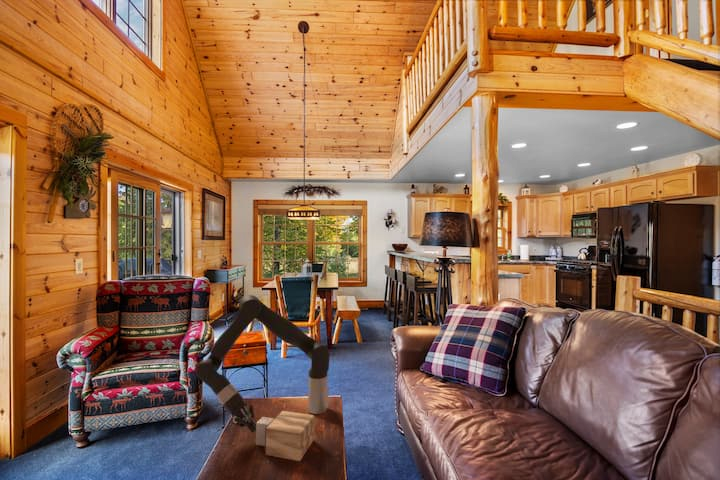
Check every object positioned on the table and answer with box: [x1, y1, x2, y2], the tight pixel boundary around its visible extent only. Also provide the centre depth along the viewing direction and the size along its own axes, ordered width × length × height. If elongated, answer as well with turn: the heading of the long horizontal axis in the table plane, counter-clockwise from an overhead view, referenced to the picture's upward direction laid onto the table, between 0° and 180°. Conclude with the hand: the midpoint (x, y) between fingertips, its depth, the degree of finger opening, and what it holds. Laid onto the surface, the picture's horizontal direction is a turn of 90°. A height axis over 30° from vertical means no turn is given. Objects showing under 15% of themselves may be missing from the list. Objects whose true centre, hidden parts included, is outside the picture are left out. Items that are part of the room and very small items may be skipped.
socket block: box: [264, 410, 315, 462], centre depth 137 cm, size 14×15×10 cm
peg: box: [255, 416, 275, 447], centre depth 139 cm, size 5×12×9 cm, turn 76°
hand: (255, 430), depth 141 cm, fingers closed
